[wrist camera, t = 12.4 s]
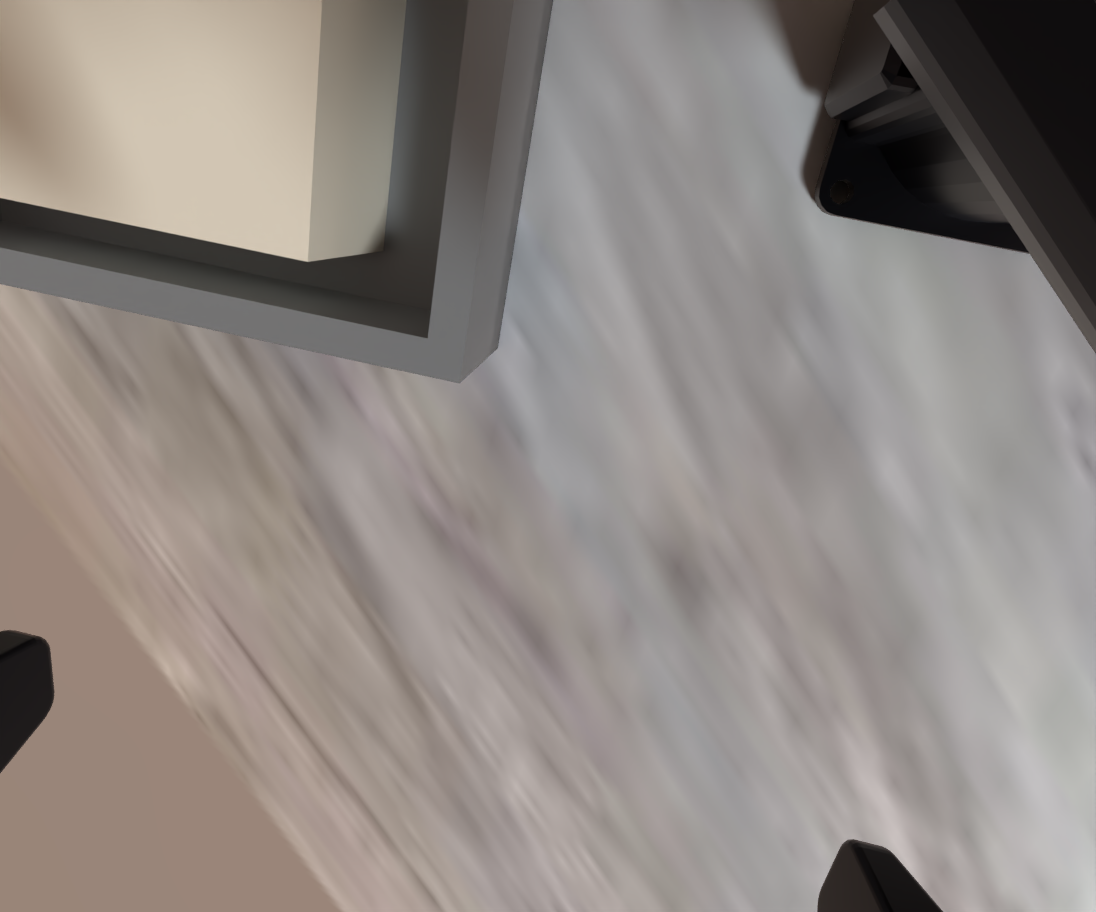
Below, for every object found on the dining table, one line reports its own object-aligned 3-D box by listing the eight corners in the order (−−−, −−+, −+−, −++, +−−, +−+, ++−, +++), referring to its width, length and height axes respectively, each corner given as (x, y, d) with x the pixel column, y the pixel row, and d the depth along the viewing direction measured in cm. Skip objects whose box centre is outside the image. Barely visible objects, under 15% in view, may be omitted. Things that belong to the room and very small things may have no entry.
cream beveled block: (415, -93, 14) (333, -203, 10) (383, 250, 17) (307, 261, 13) (57, -156, 15) (-143, -282, 11) (78, 188, 17) (-80, 181, 13)
